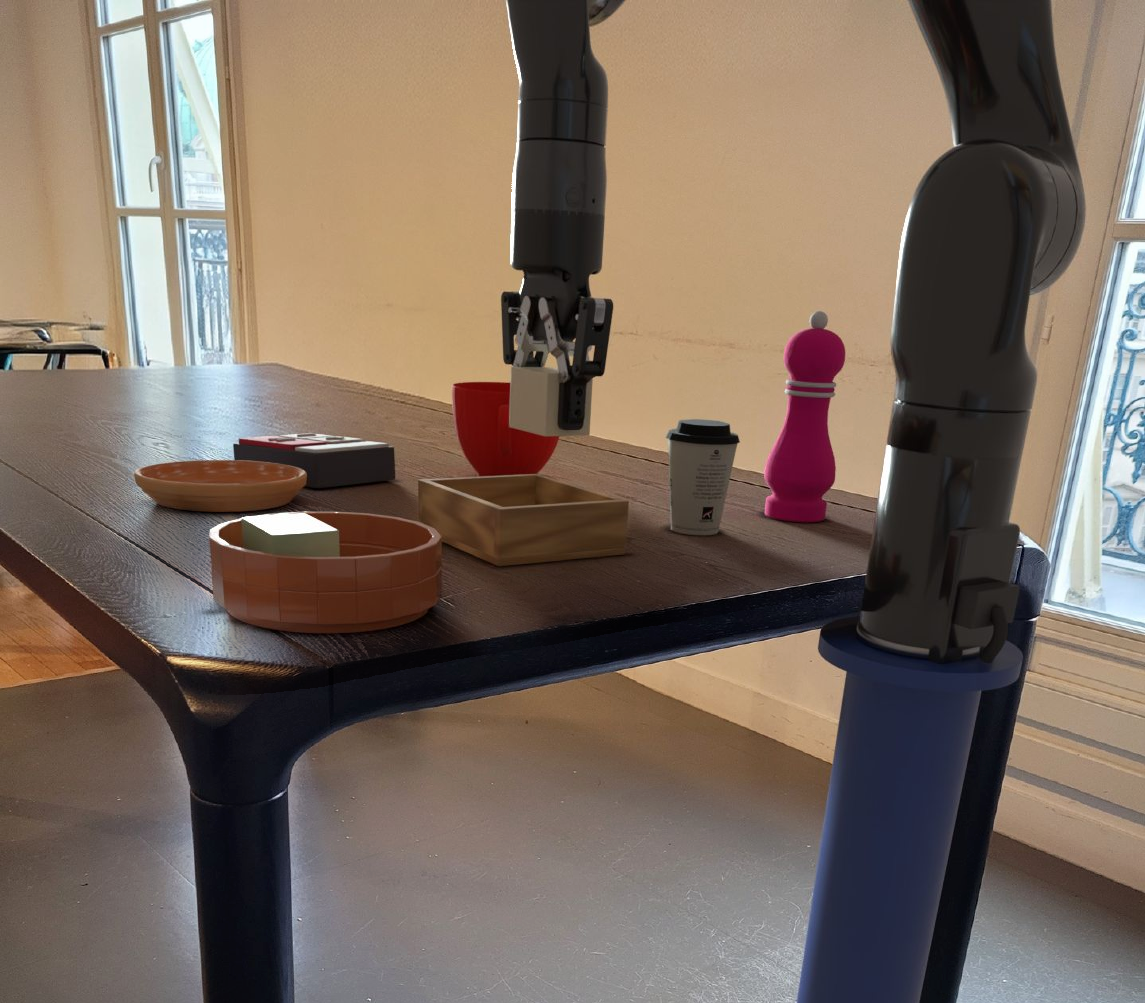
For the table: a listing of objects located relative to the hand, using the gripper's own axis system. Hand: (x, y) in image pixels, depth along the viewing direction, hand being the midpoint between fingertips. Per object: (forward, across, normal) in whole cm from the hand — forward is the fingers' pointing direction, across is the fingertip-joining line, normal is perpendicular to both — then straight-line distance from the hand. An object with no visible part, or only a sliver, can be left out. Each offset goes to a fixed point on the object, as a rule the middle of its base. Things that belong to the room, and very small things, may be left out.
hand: (549, 423), depth 99 cm
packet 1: (+9, -13, +28) cm, 32 cm away
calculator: (+10, +38, +7) cm, 40 cm away
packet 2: (+1, 0, 0) cm, 1 cm away
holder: (+10, 0, +3) cm, 10 cm away
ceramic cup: (+10, +30, -13) cm, 34 cm away
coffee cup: (+10, -1, -16) cm, 19 cm away
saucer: (+10, +26, +21) cm, 35 cm away
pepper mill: (+10, +1, -31) cm, 33 cm away
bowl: (+10, -13, +26) cm, 30 cm away
